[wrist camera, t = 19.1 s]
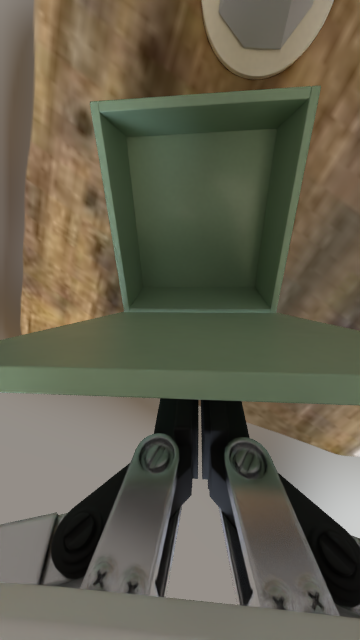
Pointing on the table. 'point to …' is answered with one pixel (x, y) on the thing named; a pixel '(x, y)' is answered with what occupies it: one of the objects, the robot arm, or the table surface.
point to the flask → (263, 20)
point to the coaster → (261, 59)
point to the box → (203, 195)
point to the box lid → (188, 358)
